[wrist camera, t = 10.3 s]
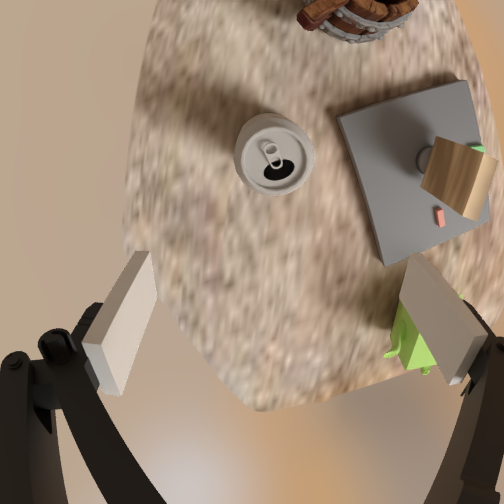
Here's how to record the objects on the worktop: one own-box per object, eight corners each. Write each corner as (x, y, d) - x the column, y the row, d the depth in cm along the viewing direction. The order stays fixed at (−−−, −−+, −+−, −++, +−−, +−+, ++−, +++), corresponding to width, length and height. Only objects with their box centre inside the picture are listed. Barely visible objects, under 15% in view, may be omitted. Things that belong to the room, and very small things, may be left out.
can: (250, 179, 41) (251, 213, 30) (228, 125, 37) (219, 137, 27) (307, 159, 39) (328, 185, 29) (286, 104, 36) (301, 107, 25)
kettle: (364, 314, 51) (385, 362, 41) (427, 255, 46) (462, 295, 36) (407, 350, 55) (428, 393, 45) (463, 301, 50) (492, 340, 40)
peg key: (408, 180, 38) (456, 214, 28) (423, 131, 35) (478, 150, 24) (466, 202, 39) (515, 237, 29) (481, 158, 36) (535, 183, 26)
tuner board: (335, 116, 37) (341, 118, 34) (458, 79, 33) (470, 80, 31) (380, 260, 46) (386, 270, 43) (483, 215, 42) (493, 222, 40)
